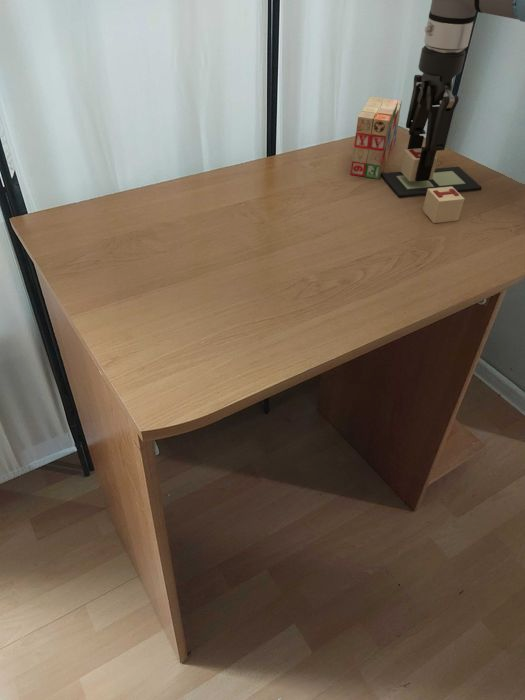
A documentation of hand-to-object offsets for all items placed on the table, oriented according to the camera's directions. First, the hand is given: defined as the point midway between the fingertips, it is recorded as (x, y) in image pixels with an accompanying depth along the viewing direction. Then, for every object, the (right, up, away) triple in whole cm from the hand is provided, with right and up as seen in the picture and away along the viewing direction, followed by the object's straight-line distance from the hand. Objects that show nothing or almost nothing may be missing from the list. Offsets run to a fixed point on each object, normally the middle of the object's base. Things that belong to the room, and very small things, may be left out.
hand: (416, 173), depth 109 cm
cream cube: (0, 0, 0) cm, 0 cm away
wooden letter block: (+2, -10, -8) cm, 13 cm away
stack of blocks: (-6, +7, +11) cm, 15 cm away
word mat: (+3, -1, +2) cm, 4 cm away
